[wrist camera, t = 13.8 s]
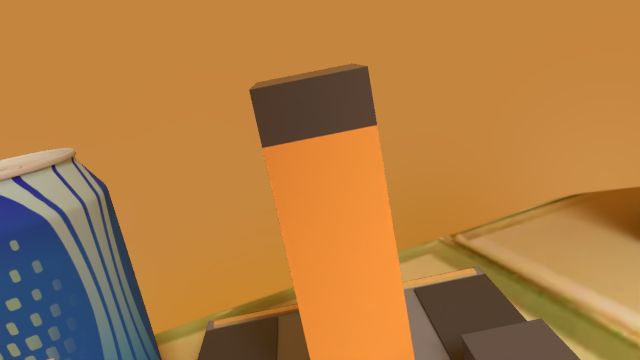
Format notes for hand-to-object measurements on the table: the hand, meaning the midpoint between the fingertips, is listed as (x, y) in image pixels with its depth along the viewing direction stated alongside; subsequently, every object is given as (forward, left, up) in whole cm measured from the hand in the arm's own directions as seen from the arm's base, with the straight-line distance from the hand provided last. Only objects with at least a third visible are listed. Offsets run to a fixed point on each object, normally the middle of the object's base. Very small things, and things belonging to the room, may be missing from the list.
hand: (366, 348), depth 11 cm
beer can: (+15, -14, -12) cm, 24 cm away
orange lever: (0, -9, -10) cm, 13 cm away
